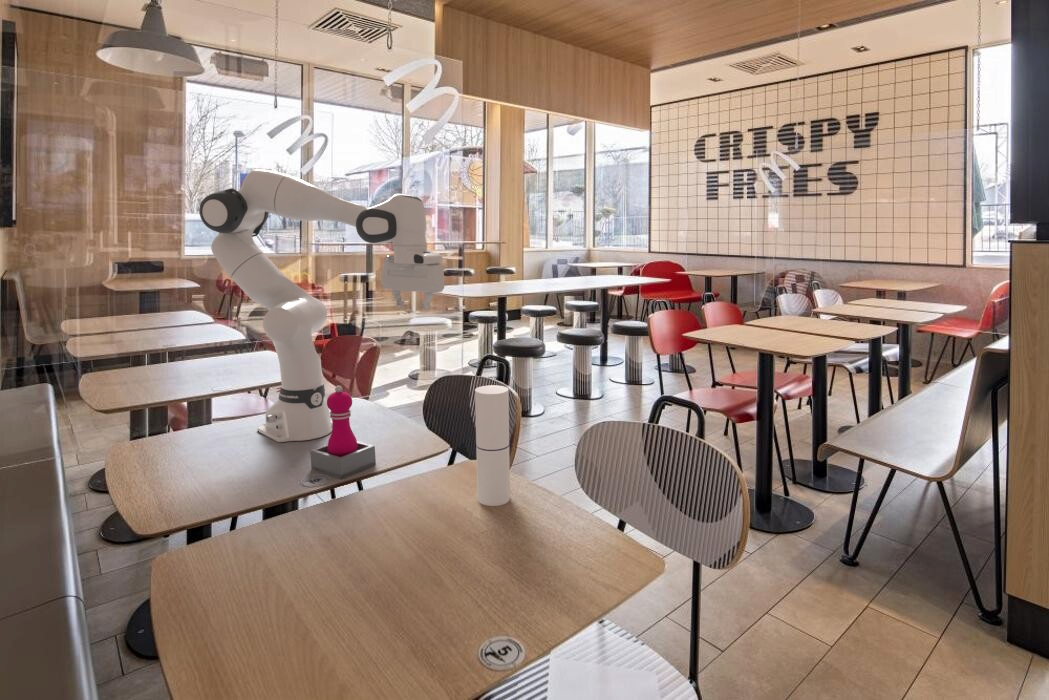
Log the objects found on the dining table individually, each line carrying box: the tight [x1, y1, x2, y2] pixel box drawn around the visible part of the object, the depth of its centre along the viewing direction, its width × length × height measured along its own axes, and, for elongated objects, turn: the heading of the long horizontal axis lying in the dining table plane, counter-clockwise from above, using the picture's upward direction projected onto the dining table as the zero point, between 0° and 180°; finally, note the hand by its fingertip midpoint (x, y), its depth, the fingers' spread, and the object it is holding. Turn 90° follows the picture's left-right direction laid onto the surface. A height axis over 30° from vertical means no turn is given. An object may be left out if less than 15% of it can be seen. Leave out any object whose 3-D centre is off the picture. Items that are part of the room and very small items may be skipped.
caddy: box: [309, 440, 377, 480], centre depth 159 cm, size 11×11×5 cm
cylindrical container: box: [474, 384, 511, 507], centre depth 138 cm, size 7×7×25 cm
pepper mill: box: [326, 385, 358, 457], centre depth 157 cm, size 7×7×20 cm
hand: (412, 307), depth 173 cm, fingers open, 8 cm apart
